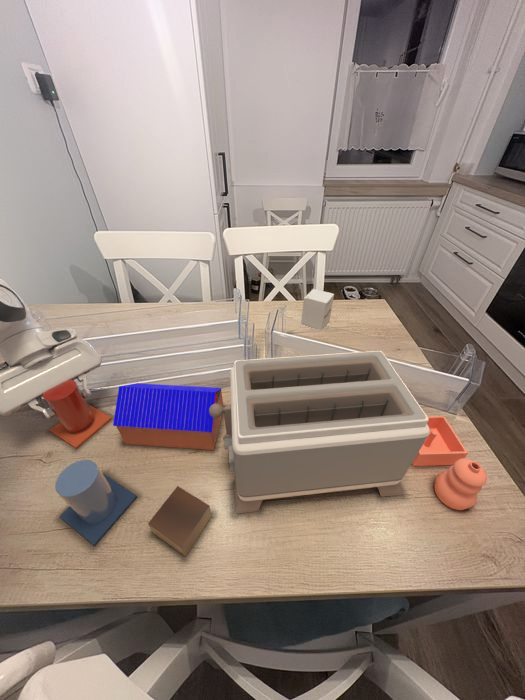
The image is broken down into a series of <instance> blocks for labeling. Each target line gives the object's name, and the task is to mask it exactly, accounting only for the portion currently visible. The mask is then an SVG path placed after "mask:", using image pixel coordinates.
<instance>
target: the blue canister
mask: <svg viewBox="0 0 525 700" xmlns="http://www.w3.org/2000/svg"><path fill="white" fill-rule="evenodd" d="M54 488H55V492H56V493H57V494H58V495H59V496H60V497H61V499H62V500H63V501H64V502H65V503H66V504H67V505H68V506H69V507H71V508H72V509H73V511H74V512H75V513H76V514H77V515H78V516H79V517H80V518H81V519H82V520H83V521H84V522H85V523H88V524H95V523H99V522H101V521H103V520H104V519H106V518H107V517H108V516H109V515H110V514H111V513H112V512H113V510H114V508H115V506H116V503H117V496H116V494H115V492H114V491H113V489H112V488H111V486H110V485H109V483H108V481H107V480H106V478H105V477H104V475H103V472H102V470H101V469H100V467H99V466H98V464H97V463H96V462H94V461H93V460H91V459H82V460H77V461H75V462H73V463H71V464H69V465H68V466H67V467H65V468H64V469H63V470H62V471H61V472H60V474H59V475H58V477H57V478H56V480H55V486H54Z"/></svg>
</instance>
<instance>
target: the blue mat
mask: <svg viewBox="0 0 525 700" xmlns="http://www.w3.org/2000/svg"><path fill="white" fill-rule="evenodd" d="M102 474H103V475H104V477H105V478H106V480H107V481H108V483H109V485H110V486H111V488H112V489H113V491H114V492H115V494H116V496H117V503H116V506H115V508H114V510H113V512H112V513H111V514H110V515H109V516H108V517H107V518H106V519H104V520H103V521H101V522H99V523H95V524H88V523H85V522H84V521H83V520H82V519H81V518H80V517H79V516H78V515H77V514H76V513H75V512H74V511H73V509H72V508H71V507H70V506H69V507H67V508H66V509H65V510H64V512H61V514H60V515H59V518H60V519H61V520H63V522H65V523H66V524H67V525H69V526H70V527H71V528H72V529H73V530H75V531H76V532H77V533H78V534H79V535H80V536H82V537H83V538H84V539H85V540H86V541H88V542H89V543H90V544H91V545H93V546H94V547H96V545H97V544H98V543H99V542H100V541H101V540H102V538H104V537H105V535H106V534H107V533H108V532H109V531H110V529H111V528H112V527H113V526H114V525H115V524H116V523H117V521H118V520H119V519H120V518H121V517H122V515H124V513H125V512H127V510H128V509H129V507H130V506H131V505H133V503H134V502H135V500H136V499H138V496H137V495H136V494H135V493H133V492H132V491H131V490H129V489H127V488H126V487H124V486H123V485H122V484H120V483H119V482H117V481H116V480H114V479H113V478H111V477H110V476H109V475H107V474H106V473H103V472H102Z"/></svg>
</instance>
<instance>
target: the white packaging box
mask: <svg viewBox="0 0 525 700" xmlns="http://www.w3.org/2000/svg"><path fill="white" fill-rule="evenodd" d="M334 297H335V293H332V292H328V291H325V290H322V289H321V290H320V289H316V288H312V289H311V290H310V291H309V292H308V293H307V294H306V295H305V296H304V297H303V301H302V313H301V319H300V320H301V321H300V325H301V324H302V325H305V326H308V327H311V328H315V329H320V330H322V329H323V328H324V327H326V326H327V324H328V323H329V324H330V320H331V315H332V310H333V309H332V308H333V304H334Z"/></svg>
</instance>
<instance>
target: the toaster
mask: <svg viewBox="0 0 525 700" xmlns="http://www.w3.org/2000/svg"><path fill="white" fill-rule="evenodd" d="M229 383H230V385H229V388H230V404H229V405H227V406H223V408H222V406H221V405H220V404H217V403H215V404H213V405H211V406H210V408H209V414H210V415H211V416H212V417H214V418H218V417H220V416H221V415H222V416H224V425H225V433H226V434H224V435H223V445H224V450H225V451H227V450H228V462H229V471H230V472H232V473H233V472H234V474H235V481H234V485H233V491H234V492H233V495H234V514H236V515H238V514H244V513H245V514H246V513H254V512H255V513H256V512H259V511H260V508H261V506H262V503H263V501H265V500H273V499H282V498H292V497H300V496H310V495H319V494H325V493H326V494H327V493H337V492H345V491H353V490H362V489H373V488H377V490H378V493H379V496H380V498H381V497H382V498H383V497H394V496H401V495H403V491H402V487H401V481H403V479H404V477H405V476H406V474H407V472H408V471H409V469H410V467H411V465H412V462H413V460H414V459H415V457H416V455H417V454H418V452H419V450H420V449H421V447H422V445H423V444H424V442H425V440H426V439H427V437H428V435H429V432H430V431H429V427H428V425H427V423H428V421H429V418H428V417H427V416H428V415H427V413H426V412H425V411H424V409H423V407H421V405H420V404H419V403H418V400H417V399H416V398H415V396H414V395H413V394H412V392H411V391H410V390H409V388H408V387H407V385H406V383H404V381H403V379H402V377H401V376H400V375H399V374H398V372H397V371H396V369H395V367H394V366H393V365H392V363H391V361H390V360H389V358H387V356H386V354H385V353H384V352H383V351H382V350H368V351H367V350H366V351H353V352H352V351H351V352H341V353H340V352H338V353H324V354H310V355H295V356H279V357H267V358H266V357H265V358H253V359H252V358H250V359H237V360H234V361H233V366H232V367H231V368H230V372H229Z"/></svg>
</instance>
